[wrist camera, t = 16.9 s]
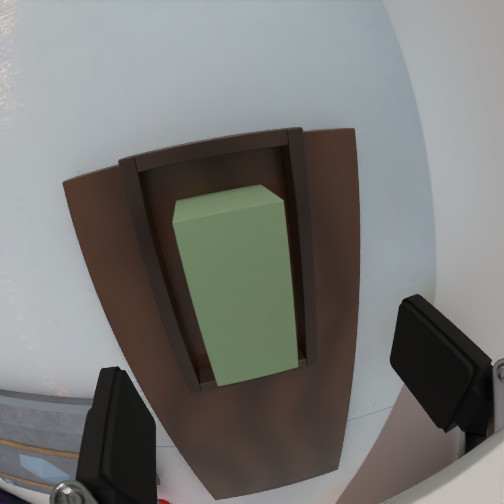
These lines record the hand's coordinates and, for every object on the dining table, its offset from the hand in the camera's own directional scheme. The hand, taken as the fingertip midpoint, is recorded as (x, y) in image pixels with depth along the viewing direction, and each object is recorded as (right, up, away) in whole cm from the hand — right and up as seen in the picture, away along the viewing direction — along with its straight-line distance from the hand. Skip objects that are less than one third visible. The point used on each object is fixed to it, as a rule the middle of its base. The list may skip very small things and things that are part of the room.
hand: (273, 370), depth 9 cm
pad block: (-2, +3, +8) cm, 8 cm away
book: (-21, -15, +12) cm, 29 cm away
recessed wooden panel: (0, -8, +14) cm, 16 cm away
